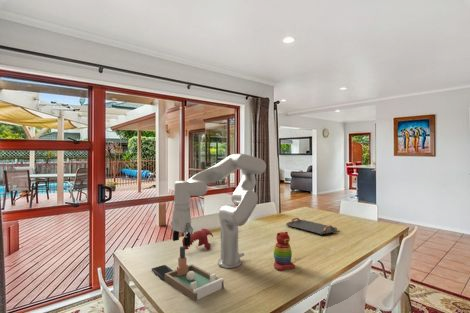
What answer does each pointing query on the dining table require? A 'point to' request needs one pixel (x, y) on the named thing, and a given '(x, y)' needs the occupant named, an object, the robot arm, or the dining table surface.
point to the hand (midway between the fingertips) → (181, 242)
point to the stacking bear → (283, 252)
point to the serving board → (311, 226)
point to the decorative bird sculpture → (200, 239)
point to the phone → (161, 271)
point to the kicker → (182, 263)
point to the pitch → (195, 282)
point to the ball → (190, 275)
